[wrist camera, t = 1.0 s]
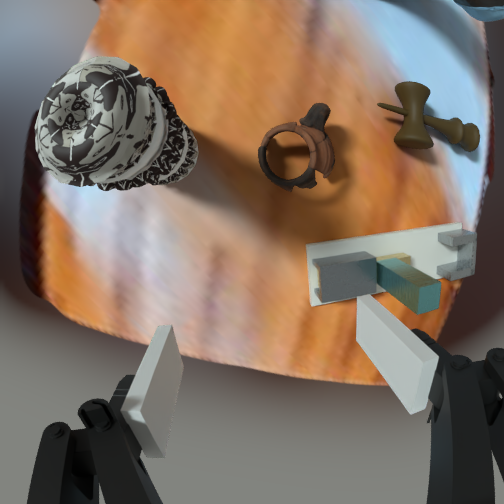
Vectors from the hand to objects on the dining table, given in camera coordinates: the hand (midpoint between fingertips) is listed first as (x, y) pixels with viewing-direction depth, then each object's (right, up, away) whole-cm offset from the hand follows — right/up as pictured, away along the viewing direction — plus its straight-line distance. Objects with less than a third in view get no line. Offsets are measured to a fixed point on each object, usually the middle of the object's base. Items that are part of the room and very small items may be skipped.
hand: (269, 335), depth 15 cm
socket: (+32, +5, +27) cm, 43 cm away
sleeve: (+12, +2, +27) cm, 29 cm away
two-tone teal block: (+15, +2, +26) cm, 30 cm away
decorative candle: (-12, +18, +22) cm, 30 cm away
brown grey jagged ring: (+5, +18, +23) cm, 30 cm away
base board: (+20, +3, +27) cm, 34 cm away
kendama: (+26, +25, +23) cm, 42 cm away
